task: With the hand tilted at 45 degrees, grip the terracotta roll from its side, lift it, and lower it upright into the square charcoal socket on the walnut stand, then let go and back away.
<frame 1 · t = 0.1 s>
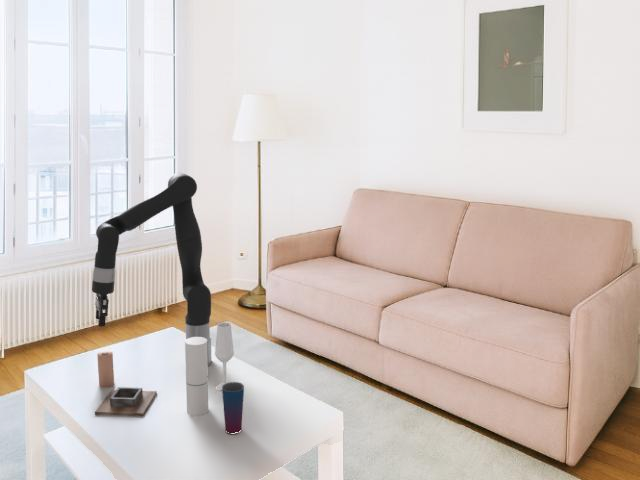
hand: (100, 322, 228), 22 cm above the table, tool pointing down, fingers open, 8 cm apart
holder: (126, 403, 216), on the table
champagne flute: (224, 387, 230), on the table
cylindrical container: (197, 411, 212), on the table
roll: (106, 384, 230), on the table
cup: (233, 431, 200), on the table
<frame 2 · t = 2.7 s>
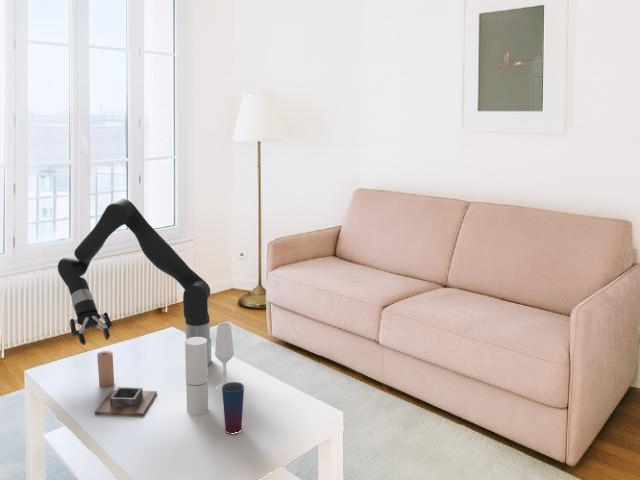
hand: (96, 341, 233), 14 cm above the table, tool tilted 45°, fingers open, 8 cm apart
nothing on the table moved.
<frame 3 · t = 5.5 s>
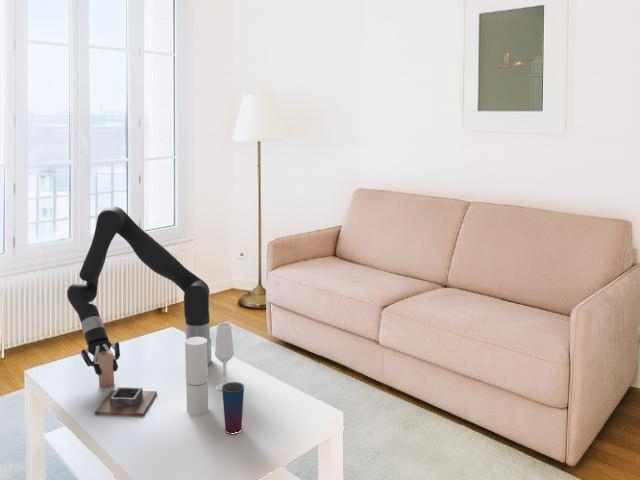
hand: (107, 372, 227), 5 cm above the table, tool tilted 45°, fingers closed on roll, 5 cm apart
roll: (106, 384, 230), on the table, touching gripper
everything else where it was.
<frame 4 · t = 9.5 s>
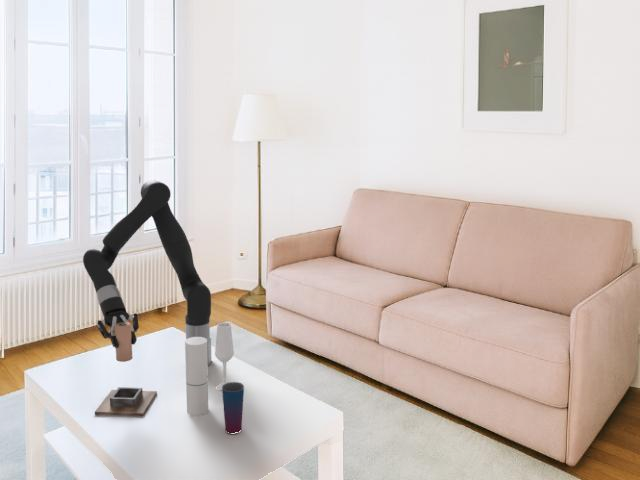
hand: (125, 345, 210), 22 cm above the table, tool tilted 45°, fingers closed on roll, 5 cm apart
roll: (124, 358, 212), point 17 cm above the table, touching gripper
everything else where it was.
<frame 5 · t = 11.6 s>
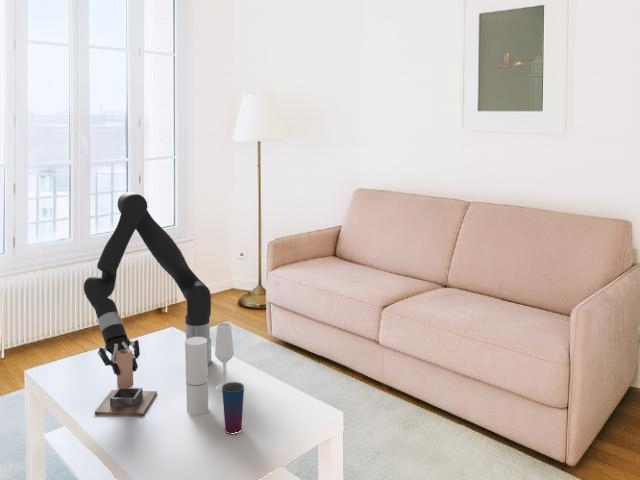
hand: (127, 372, 212), 12 cm above the table, tool tilted 45°, fingers closed on roll, 5 cm apart
roll: (125, 385, 214), point 7 cm above the table, touching gripper
everything else where it was.
when the fingers open (8 cm above the table, at t = 13.3 s): roll drops 1 cm, resting on holder.
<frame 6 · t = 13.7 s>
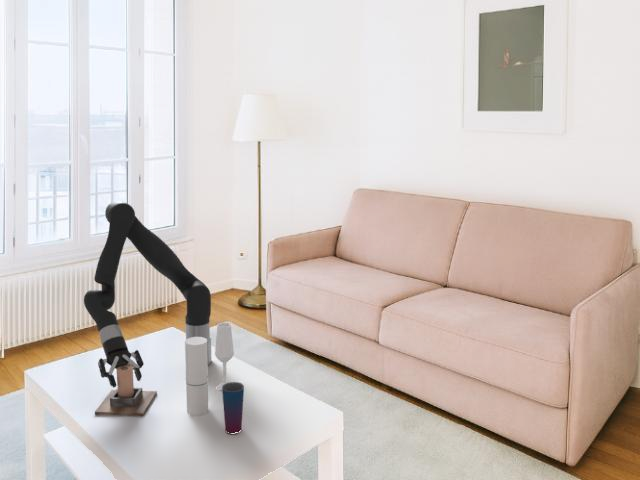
hand: (127, 383, 213), 8 cm above the table, tool tilted 45°, fingers open, 8 cm apart
roll: (126, 401, 216), point 1 cm above the table, touching holder
everything else where it was.
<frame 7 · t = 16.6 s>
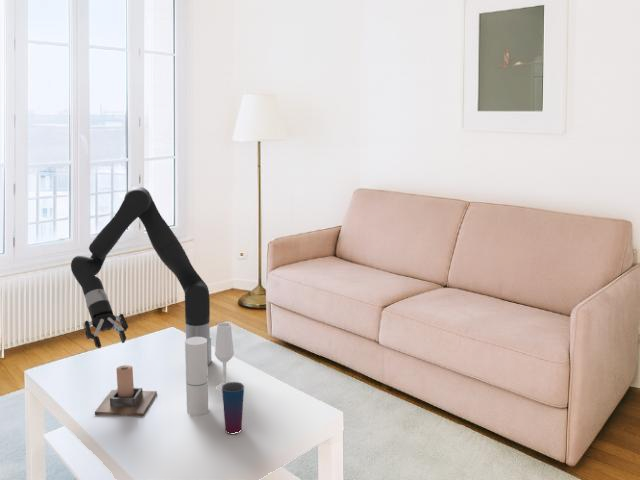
hand: (112, 344, 220), 18 cm above the table, tool tilted 45°, fingers open, 8 cm apart
nothing on the table moved.
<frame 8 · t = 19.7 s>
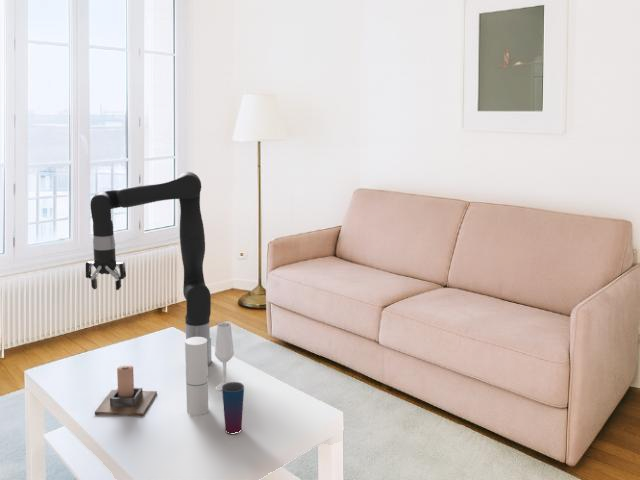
hand: (106, 289, 235), 32 cm above the table, tool pointing down, fingers open, 8 cm apart
nothing on the table moved.
at the end: roll 0.2 cm off-centre on the holder, point 1.0 cm above the holder's base; roll tilted 1°; the gripper is holding nothing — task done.
